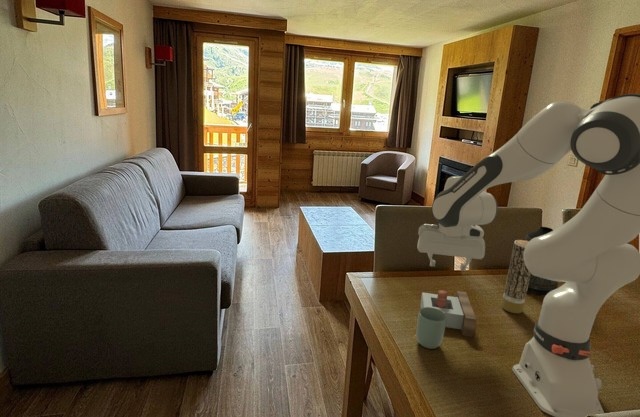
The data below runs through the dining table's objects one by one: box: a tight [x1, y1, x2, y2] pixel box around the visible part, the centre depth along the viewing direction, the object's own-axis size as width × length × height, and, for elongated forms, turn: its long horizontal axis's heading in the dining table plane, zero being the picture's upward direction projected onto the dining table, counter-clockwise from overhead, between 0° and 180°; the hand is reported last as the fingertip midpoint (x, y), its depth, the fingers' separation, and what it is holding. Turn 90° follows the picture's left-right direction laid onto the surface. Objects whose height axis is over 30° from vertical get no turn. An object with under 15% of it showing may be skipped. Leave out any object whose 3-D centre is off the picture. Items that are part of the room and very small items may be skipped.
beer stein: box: [525, 226, 559, 296], centre depth 148 cm, size 16×19×25 cm
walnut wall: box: [455, 290, 477, 337], centre depth 124 cm, size 18×3×6 cm, turn 169°
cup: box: [415, 307, 447, 350], centre depth 109 cm, size 8×8×10 cm
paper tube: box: [501, 239, 531, 314], centre depth 130 cm, size 7×7×25 cm
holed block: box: [419, 292, 464, 330], centre depth 125 cm, size 12×12×5 cm
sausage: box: [436, 289, 449, 308], centre depth 125 cm, size 3×3×9 cm
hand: (447, 267), depth 121 cm, fingers open, 8 cm apart
